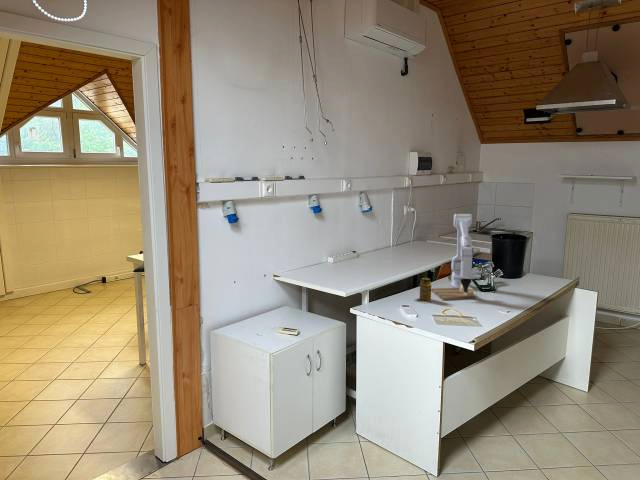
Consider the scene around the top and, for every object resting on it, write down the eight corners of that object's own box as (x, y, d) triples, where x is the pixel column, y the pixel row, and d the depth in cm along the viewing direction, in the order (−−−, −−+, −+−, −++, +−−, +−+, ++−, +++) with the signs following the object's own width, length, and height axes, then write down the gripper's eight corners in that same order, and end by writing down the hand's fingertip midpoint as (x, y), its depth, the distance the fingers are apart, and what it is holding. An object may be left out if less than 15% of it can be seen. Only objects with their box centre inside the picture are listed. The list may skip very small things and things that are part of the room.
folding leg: (458, 289, 272) (458, 284, 272) (464, 288, 273) (464, 283, 272) (467, 294, 261) (467, 289, 261) (473, 294, 262) (473, 289, 261)
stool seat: (431, 291, 276) (431, 288, 276) (461, 289, 278) (461, 286, 278) (443, 300, 258) (443, 297, 258) (474, 298, 261) (475, 295, 260)
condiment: (434, 300, 260) (434, 278, 257) (425, 303, 254) (425, 281, 252) (422, 297, 265) (423, 276, 263) (413, 300, 259) (414, 279, 257)
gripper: (456, 270, 255) (455, 294, 257) (482, 269, 257) (481, 293, 259) (451, 267, 262) (450, 291, 264) (476, 266, 263) (475, 289, 266)
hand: (465, 292), depth 262 cm, fingers closed
